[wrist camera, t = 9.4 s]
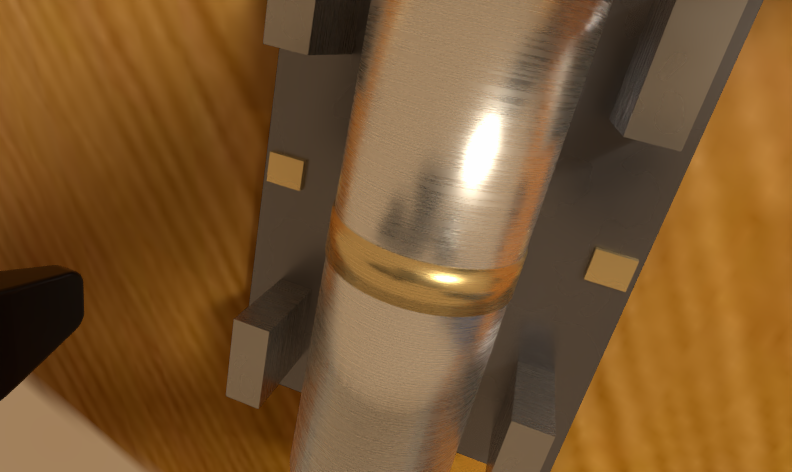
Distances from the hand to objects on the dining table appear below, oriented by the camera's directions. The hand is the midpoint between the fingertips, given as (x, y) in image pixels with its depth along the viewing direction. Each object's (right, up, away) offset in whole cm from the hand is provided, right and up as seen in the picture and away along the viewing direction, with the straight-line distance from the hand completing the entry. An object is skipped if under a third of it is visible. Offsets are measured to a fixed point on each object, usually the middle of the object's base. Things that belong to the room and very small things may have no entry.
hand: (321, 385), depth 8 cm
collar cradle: (+3, +3, +8) cm, 9 cm away
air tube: (+3, +3, +8) cm, 9 cm away
